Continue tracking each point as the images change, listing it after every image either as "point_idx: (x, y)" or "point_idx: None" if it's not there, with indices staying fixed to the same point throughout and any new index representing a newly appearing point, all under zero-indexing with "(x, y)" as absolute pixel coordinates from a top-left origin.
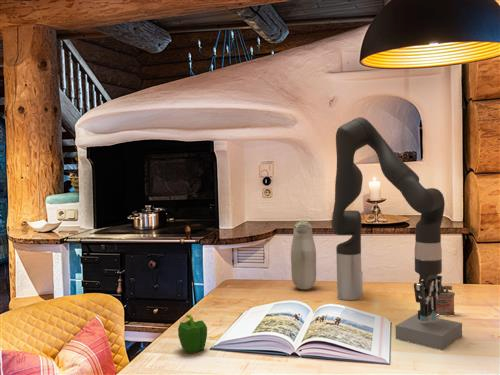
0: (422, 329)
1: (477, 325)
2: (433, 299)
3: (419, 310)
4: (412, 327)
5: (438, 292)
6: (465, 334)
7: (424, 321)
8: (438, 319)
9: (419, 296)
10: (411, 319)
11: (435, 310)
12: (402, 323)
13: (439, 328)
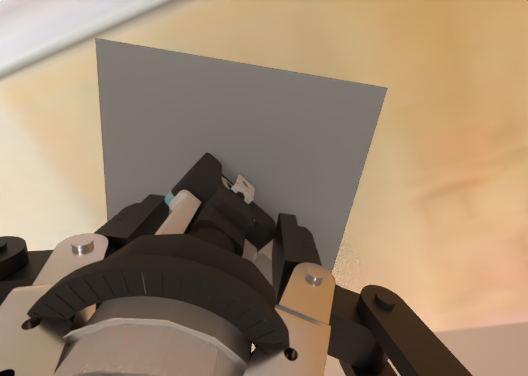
0: (133, 193)
1: (451, 287)
2: (280, 297)
3: (199, 177)
4: (128, 141)
5: (348, 374)
6: (335, 273)
7: (259, 168)
8: (325, 218)
9: (36, 280)
10: (258, 92)
11: (272, 255)
12: (156, 66)
13: None
